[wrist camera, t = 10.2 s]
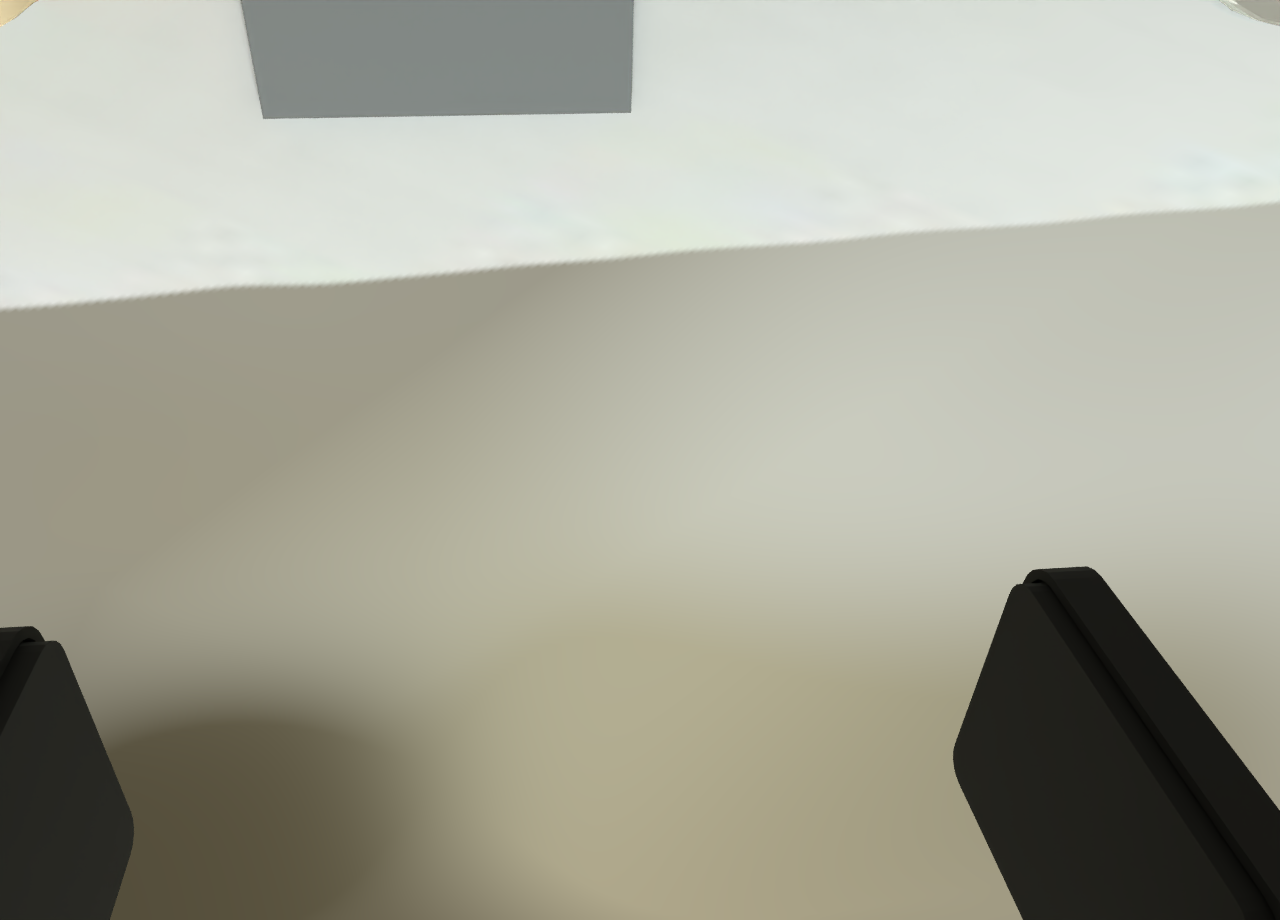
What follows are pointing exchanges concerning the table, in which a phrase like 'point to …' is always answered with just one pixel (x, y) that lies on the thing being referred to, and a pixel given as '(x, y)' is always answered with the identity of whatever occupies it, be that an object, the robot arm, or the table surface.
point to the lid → (12, 9)
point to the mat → (440, 57)
